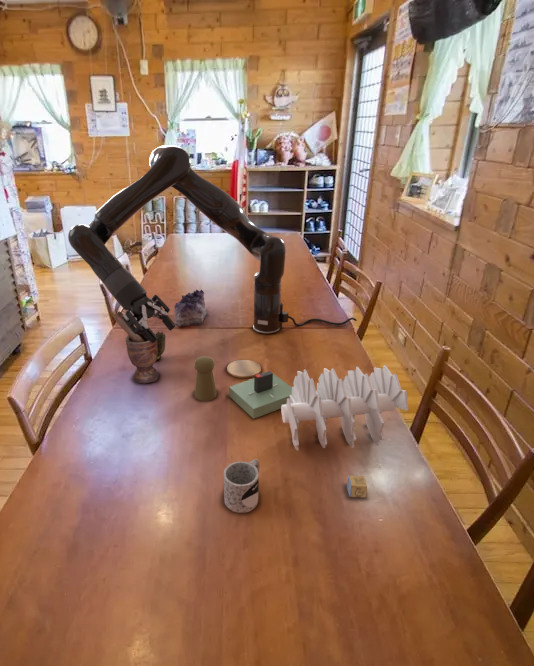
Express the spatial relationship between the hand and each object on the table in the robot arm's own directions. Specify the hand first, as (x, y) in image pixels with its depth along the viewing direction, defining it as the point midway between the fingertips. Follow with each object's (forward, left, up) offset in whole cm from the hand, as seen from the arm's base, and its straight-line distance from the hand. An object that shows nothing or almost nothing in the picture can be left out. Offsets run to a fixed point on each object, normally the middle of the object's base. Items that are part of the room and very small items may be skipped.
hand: (164, 334), depth 121 cm
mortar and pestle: (+5, -8, -16) cm, 19 cm away
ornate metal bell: (-3, -16, -16) cm, 23 cm away
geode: (-27, -39, -16) cm, 50 cm away
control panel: (-19, +20, -16) cm, 31 cm away
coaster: (-23, +4, -16) cm, 28 cm away
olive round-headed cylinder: (-7, +10, -16) cm, 20 cm away
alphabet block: (-16, +57, -16) cm, 61 cm away
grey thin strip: (+3, +46, -16) cm, 49 cm away
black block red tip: (-19, +20, -13) cm, 30 cm away
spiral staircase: (-24, +42, -16) cm, 50 cm away
